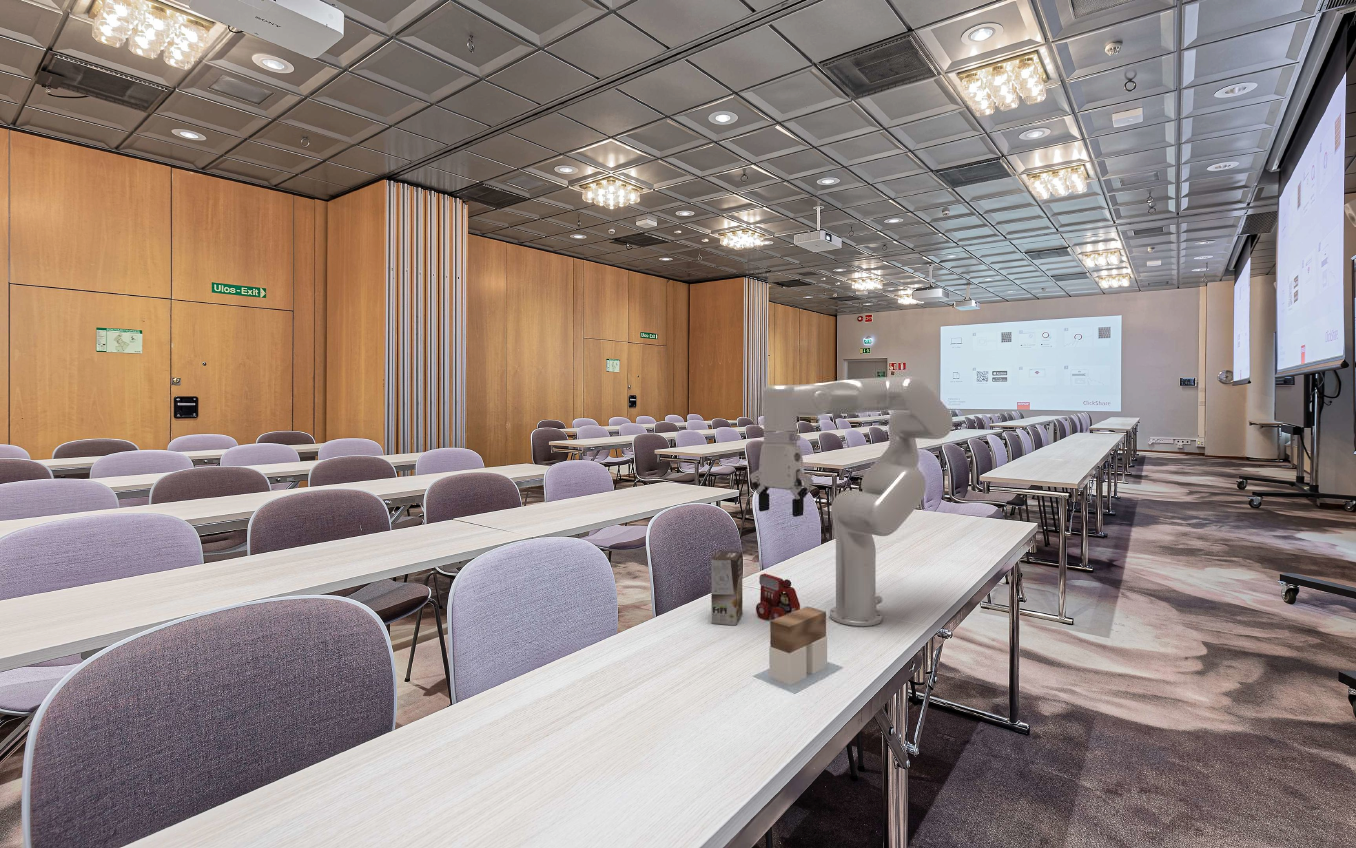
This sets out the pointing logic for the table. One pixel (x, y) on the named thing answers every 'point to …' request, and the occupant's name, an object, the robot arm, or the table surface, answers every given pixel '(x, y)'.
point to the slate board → (802, 683)
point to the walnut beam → (797, 629)
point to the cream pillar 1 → (787, 665)
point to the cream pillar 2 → (816, 656)
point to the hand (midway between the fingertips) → (780, 513)
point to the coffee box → (726, 587)
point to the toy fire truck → (776, 597)
